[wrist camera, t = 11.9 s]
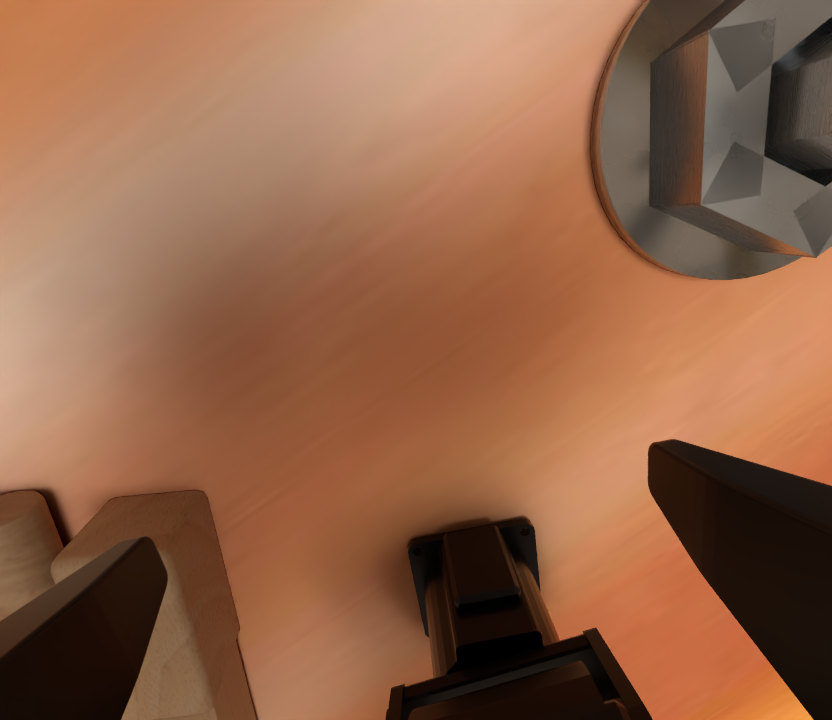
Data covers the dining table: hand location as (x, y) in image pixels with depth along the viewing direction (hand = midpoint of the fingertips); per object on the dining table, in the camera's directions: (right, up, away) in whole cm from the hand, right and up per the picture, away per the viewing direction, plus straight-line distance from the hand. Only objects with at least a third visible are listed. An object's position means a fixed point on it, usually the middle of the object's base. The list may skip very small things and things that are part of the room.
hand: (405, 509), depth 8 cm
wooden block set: (-18, -12, +16) cm, 27 cm away
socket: (+13, +12, +10) cm, 20 cm away
